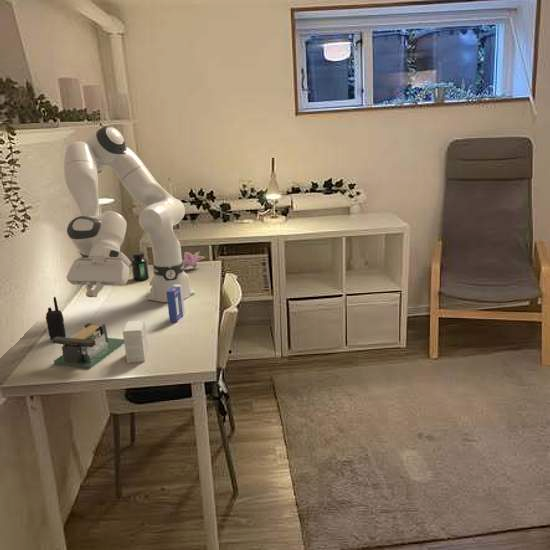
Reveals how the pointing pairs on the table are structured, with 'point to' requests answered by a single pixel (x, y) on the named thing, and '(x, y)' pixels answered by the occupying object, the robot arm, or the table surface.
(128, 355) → the small box
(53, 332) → the two-way radio
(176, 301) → the walkman
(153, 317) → the table surface
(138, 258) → the supplement bottle
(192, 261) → the lily
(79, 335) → the lever
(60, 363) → the board
